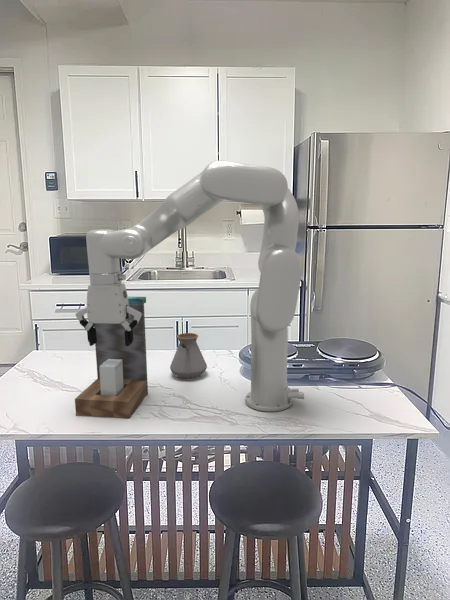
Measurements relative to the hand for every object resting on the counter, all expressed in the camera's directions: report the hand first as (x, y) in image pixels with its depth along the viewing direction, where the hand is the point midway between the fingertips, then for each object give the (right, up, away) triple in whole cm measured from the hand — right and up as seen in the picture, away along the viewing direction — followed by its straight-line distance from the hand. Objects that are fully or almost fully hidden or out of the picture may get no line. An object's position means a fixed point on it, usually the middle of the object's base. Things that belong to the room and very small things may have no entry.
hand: (111, 344), depth 117 cm
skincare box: (0, -17, +3) cm, 17 cm away
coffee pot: (+18, -13, +20) cm, 30 cm away
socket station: (0, -16, +5) cm, 17 cm away
